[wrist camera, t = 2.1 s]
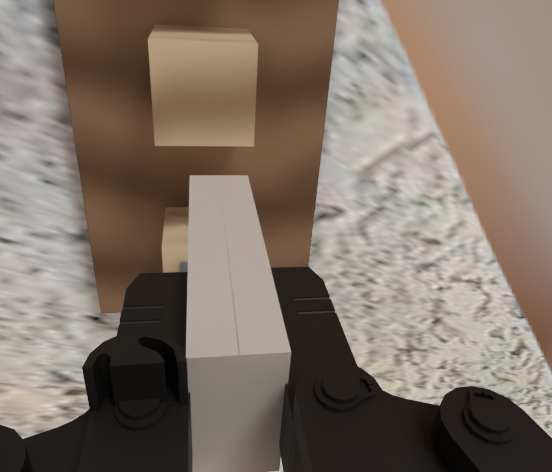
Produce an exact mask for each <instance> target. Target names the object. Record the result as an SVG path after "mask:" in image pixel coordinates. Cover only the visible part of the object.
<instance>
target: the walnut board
mask: <svg viewBox="0 0 552 472" xmlns="http://www.w3.org/2000/svg"><path fill="white" fill-rule="evenodd" d="M53 1H54V7H55V14H56V20H57V27H58V34H59V40H60V47H61V53H62V60H63V66H64V73H65V80H66V86H67V93H68V99H69V106H70V112H71V119H72V126H73V132H74V139H75V145H76V152H77V158H78V165H79V172H80V178H81V185H82V191H83V198H84V204H85V211H86V218H87V224H88V231H89V237H90V244H91V250H92V257H93V264H94V270H95V277H96V283H97V290H98V296H99V303H100V310H101V313H116V312H122V310H123V303H124V298H125V293H126V288H127V287H128V286H129V285H130V284H131V283H132V282H133V281H134V279H135V278H136V277H137V276H138V275H139V274H140V273H163V262H162V238H163V229H164V219H165V209H166V207H189V180H190V175H248V178H249V182H250V186H251V190H252V194H253V198H254V202H255V206H256V210H257V214H258V218H259V223H260V227H261V231H262V235H263V239H264V243H265V247H266V251H267V255H268V259H269V263H270V267H271V268H278V267H308V263H309V254H310V245H311V237H312V228H313V219H314V211H315V202H316V193H317V185H318V176H319V167H320V159H321V150H322V141H323V133H324V124H325V115H326V107H327V98H328V89H329V81H330V72H331V63H332V55H333V46H334V37H335V29H336V20H337V11H338V3H339V0H53ZM155 25H173V26H194V27H215V28H236V29H248V30H249V32H250V33H251V34H252V36H253V37H254V39H255V40H256V41H257V43H258V62H257V86H256V110H255V134H254V147H244V146H155V141H154V126H153V111H152V96H151V81H150V66H149V51H148V38H149V36H150V34H151V32H152V30H153V28H154V26H155Z"/></svg>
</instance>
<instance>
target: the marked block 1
mask: <svg viewBox="0 0 552 472" xmlns="http://www.w3.org/2000/svg"><path fill="white" fill-rule="evenodd" d="M188 227H189V207H166V209H165V219H164V229H163V238H162V262H163V273H166V272H188Z"/></svg>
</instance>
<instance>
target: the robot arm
mask: <svg viewBox="0 0 552 472" xmlns="http://www.w3.org/2000/svg"><path fill="white" fill-rule="evenodd" d="M82 369H83V375H84V380H85V385H86V391H87V396H88V401H89V407H90V409H89V410H88V411H87V412H86V413H84V414H83V415H81V416H79V417H78V418H76V419H75V420H73V421H71V422H69V423H67V424H64V425H62V426H60V427H57V428H55V429H52V430H49V431H46V432H43V433H40V434H37V435H34V436H31V437H28V438H25V439H22V438H21V437H20V436H19V434H18V433H17V432H16V431H15V430H14V429H11V428H8V427H5V426H2V425H0V472H269V471H279V466H280V457H281V459H282V465H283V470H284V472H552V438H551V437H550V436H549V435H548V434H547V433H546V432H545V431H544V430H543V429H542V428H541V427H540V426H539V425H538V424H537V423H536V422H535V421H534V420H533V419H532V418H530V417H529V416H528V415H527V414H526V413H525V412H524V411H523V410H522V409H521V408H520V407H518V406H517V405H516V404H514V403H513V402H512V401H511V400H509V399H508V398H507V397H504V396H502V395H500V394H498V393H496V392H493V391H491V390H489V389H484V388H478V387H473V386H469V387H460V388H455V389H454V390H452V391H450V392H449V393H447V394H445V396H444V398H443V400H442V402H441V404H440V406H438V405H433V404H428V403H423V402H418V401H413V400H408V399H404V398H400V397H397V396H393V395H391V394H389V393H387V392H385V391H383V390H382V389H381V387H380V386H379V385H378V383H377V382H376V380H375V379H374V378H373V377H372V376H371V375H369V374H368V373H367V372H365V371H364V370H363V369H361V368H359V367H358V366H357V364H356V362H355V359H354V357H353V354H352V352H351V349H350V347H349V344H348V342H347V339H346V337H345V334H344V332H343V329H342V327H341V324H340V321H339V319H338V316H337V314H336V313H335V309H334V306H333V304H332V301H331V299H329V294H328V291H327V289H326V286H325V284H324V281H323V280H322V279H321V278H320V277H319V276H318V275H317V274H316V273H315V272H314V271H312V270H311V269H310V268H309V267H278V268H271V267H270V263H269V259H268V255H267V251H266V247H265V243H264V239H263V235H262V231H261V227H260V223H259V218H258V214H257V210H256V206H255V202H254V198H253V194H252V190H251V186H250V182H249V178H248V175H190V180H189V227H188V272H166V273H140V274H139V275H138V276H137V277H136V278H135V279H134V281H133V282H132V283H131V284H130V285H129V286H128V287H127V288H126V293H125V298H124V303H123V310H122V313H121V317H120V325H119V327H118V332H117V336H116V337H114V338H111V339H109V340H107V341H105V342H103V343H102V344H101V345H99V346H98V347H97V348H96V349H95V350H94V351H92V352H91V353H90V354H89V356H88V358H87V360H86V362H85V363H84V365H83V367H82Z"/></svg>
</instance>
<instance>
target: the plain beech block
mask: <svg viewBox="0 0 552 472" xmlns="http://www.w3.org/2000/svg"><path fill="white" fill-rule="evenodd" d="M148 51H149V66H150V81H151V96H152V111H153V126H154V141H155V146H244V147H254V134H255V110H256V86H257V62H258V43H257V41H256V40H255V39H254V37H253V36H252V34H251V33H250V32H249V30H248V29H236V28H215V27H194V26H173V25H155V26H154V28H153V30H152V32H151V34H150V36H149V38H148Z"/></svg>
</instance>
